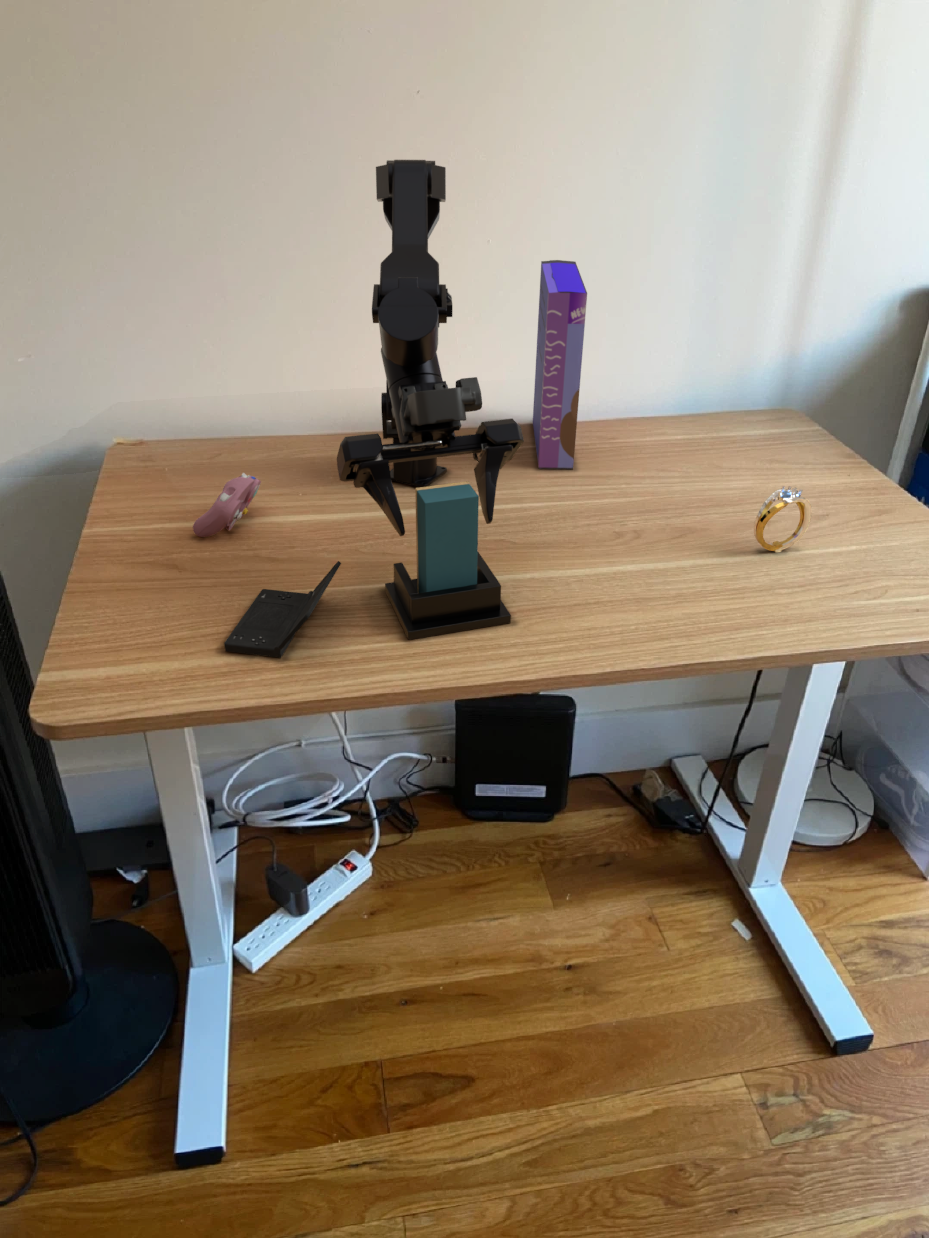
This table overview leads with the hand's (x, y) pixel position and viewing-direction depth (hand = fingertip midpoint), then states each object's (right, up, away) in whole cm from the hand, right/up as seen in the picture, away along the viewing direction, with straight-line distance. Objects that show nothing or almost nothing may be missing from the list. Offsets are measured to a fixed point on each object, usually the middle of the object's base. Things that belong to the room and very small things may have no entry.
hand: (446, 528), depth 96 cm
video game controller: (-27, +3, +21) cm, 34 cm away
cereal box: (+15, +16, +43) cm, 48 cm away
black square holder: (0, -8, +5) cm, 9 cm away
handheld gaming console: (-16, -10, +1) cm, 19 cm away
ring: (+39, -1, +16) cm, 42 cm away
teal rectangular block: (0, -7, +5) cm, 8 cm away
